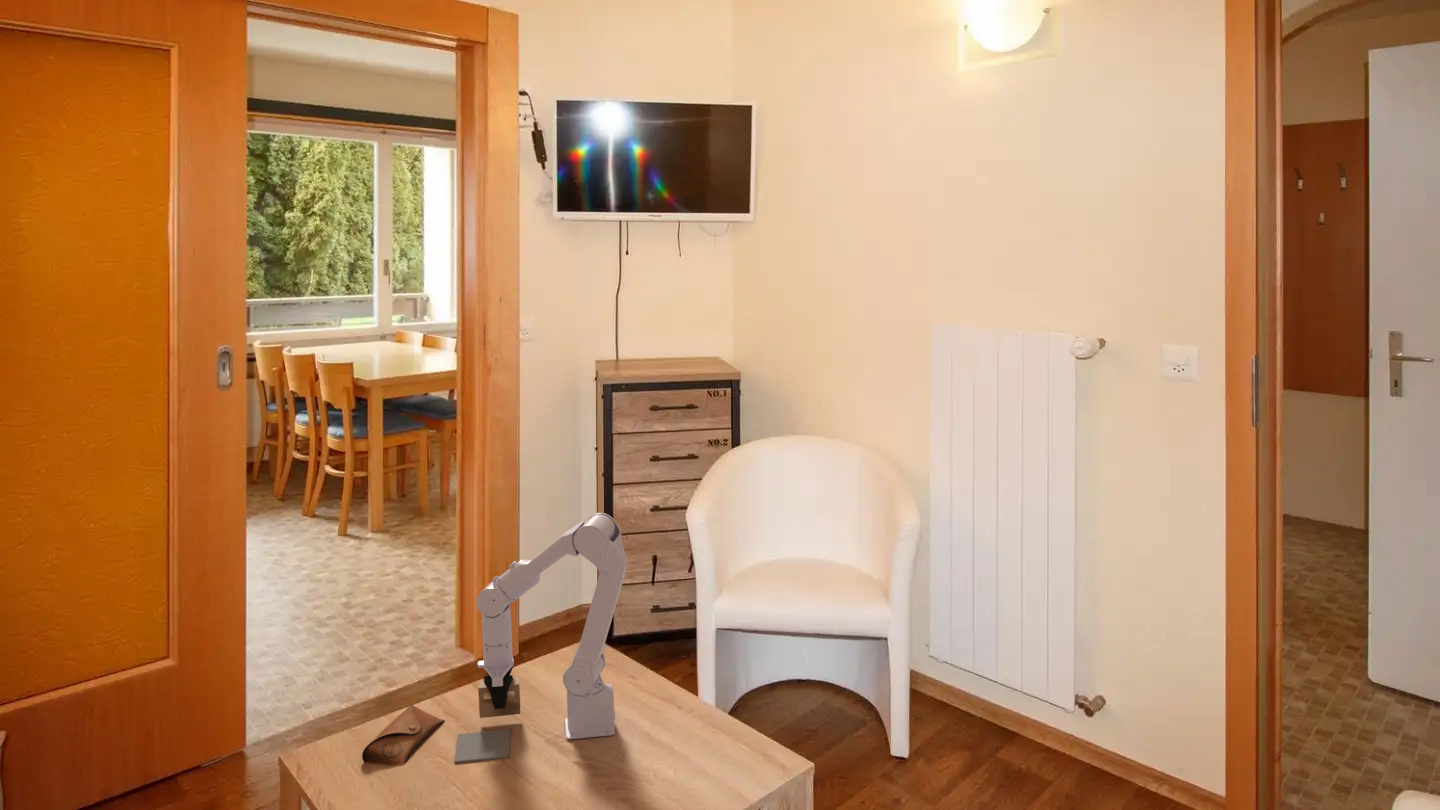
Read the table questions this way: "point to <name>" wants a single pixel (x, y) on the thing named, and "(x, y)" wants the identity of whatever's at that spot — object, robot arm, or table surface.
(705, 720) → the table surface
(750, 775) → the table surface
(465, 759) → the felt mat
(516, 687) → the brown rectangular block
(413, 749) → the sunglasses case
